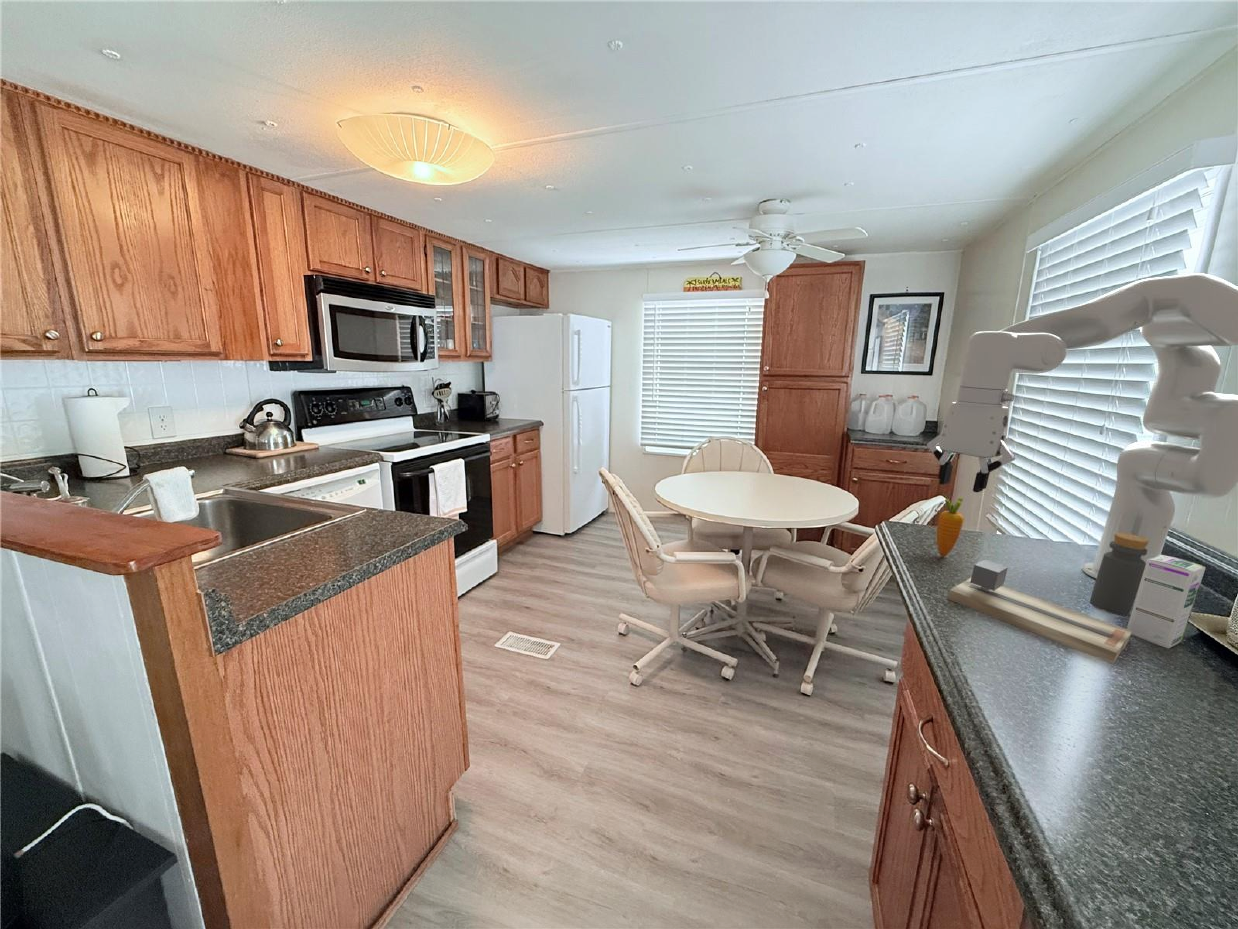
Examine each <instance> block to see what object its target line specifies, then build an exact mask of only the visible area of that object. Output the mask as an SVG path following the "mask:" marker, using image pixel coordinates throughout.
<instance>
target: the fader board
mask: <svg viewBox="0 0 1238 929" xmlns="http://www.w3.org/2000/svg"><path fill="white" fill-rule="evenodd" d="M970 581H971V577H970V578H968V579H966V580H965V581H963V582H961V583H959V584H957V585H955V586H954V587H952V588H950V589H949V591H948V596H947V599H948V600H949V601H952V602H954V603H957V604H960V605H962V606H965V607H967V608H970V609H972V610H975V611H977V612H980V613H982V614H985V615H988V616H991V617H993V618H996V619H998V620H1000V621H1003V622H1005V623H1008V624H1011V625H1014V626H1016V627H1019V628H1021V629H1024V630H1026V631H1029V632H1031V633H1033V634H1036V635H1039V636H1042V637H1044V638H1046V639H1048V640H1052V641H1054V642H1056V643H1059V644H1062V645H1064V646H1066V647H1069V648H1072V649H1074V650H1077V651H1079V652H1082V653H1084V654H1087V655H1089V656H1092V657H1094V658H1097V657H1098V659H1099V658H1100V660H1102V661H1105V662H1107V663H1110V664H1112V665H1113V664H1114V663H1116V662H1115V661H1116V660H1117V659H1118V658H1119V656H1120V655H1121V653H1122V652H1123V650H1124V649H1125V648H1126V646H1127V645H1128V643H1129V642H1130V640H1131V637H1132V631H1131V630H1128V629H1127V628H1125V627H1122V626H1119V625H1116V624H1114V623H1111V622H1109V621H1108V622H1107V621H1104V620H1101V619H1098V618H1097V617H1092V616H1090V615H1087V614H1084V613H1081V612H1080V611H1075V610H1072V609H1070V608H1067V607H1064V606H1061V605H1059V604H1055V603H1053V602H1050V601H1046V600H1045V599H1041V598H1038V597H1035V596H1032V595H1029V594H1027V593H1023V592H1021V591H1018V590H1016V589H1012V588H1009V587H1006V586H1004V585H1002V586H1001V587H999V588H998V589H996V590H995V591H993V590H989V591H986V590H983V589H981V586H979V585H976V584H973V583H971V582H970Z"/></svg>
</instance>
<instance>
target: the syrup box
mask: <svg viewBox="0 0 1238 929" xmlns="http://www.w3.org/2000/svg"><path fill="white" fill-rule="evenodd" d="M1205 570H1206V566H1204V565H1203V564H1198V563H1196V562H1194V561H1193V562H1192V561H1189V560H1188V559H1187V560H1186V559H1182V558H1179V557H1175V556H1169V555H1165V554H1161V555H1159V556H1157V557H1153V558H1151V559H1148V560H1147V562H1146V566H1145V569H1144V572H1143V576H1142V579H1141V582H1140V585H1139V589H1138V591H1137V594H1136V597H1135V600H1134V603H1133V606H1132V609H1131V612H1130V614H1129V619H1128V622H1127V626H1126V629H1128V630H1131V631H1132V634H1131V636H1135V637H1137V638H1139V639H1142V640H1144V641H1146V642H1148V643H1149V642H1150V643H1151V644H1153V645H1154V644H1155V645H1157V646H1159V647H1163V648H1166V649H1171V648H1172V647H1174V646H1176V645H1178V644H1179V643H1181V642H1183V639H1184V635H1185V632H1186V629H1187V627H1188V622H1189V620H1190V618H1191V614H1192V611H1193V608H1194V605H1195V601H1196V600H1197V595H1198V593H1199V590H1200V587H1201V583H1202V580H1203V577H1204V574H1205V572H1206V571H1205Z"/></svg>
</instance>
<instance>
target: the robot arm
mask: <svg viewBox="0 0 1238 929" xmlns="http://www.w3.org/2000/svg"><path fill="white" fill-rule="evenodd" d="M1137 329H1139V332H1140V334H1141V335H1142V338H1143V339H1144V340H1145V341H1146V342H1147V343H1148V344H1149V346H1150V347H1151V349H1152V350H1153V352H1154V354H1155V357H1156V359H1157V362H1158V365H1157V373H1156V377H1155V380H1154V383H1153V385H1152V389H1151V392H1150V395H1149V397H1148V401H1147V404H1146V406H1145V409H1144V412H1143V417H1142V425H1143V427H1144V429H1146V431H1148V432H1150V433H1153V434H1156V435H1161V436H1165V437H1172V438H1178V439H1184V440H1191V441H1198V442H1200V447H1195V446H1188V445H1184V444H1177V443H1170V442H1165V441H1157V440H1141V441H1137V442H1136V441H1135V442H1133V443H1131V444H1129V445H1127V446H1125V447H1124V448H1123V449H1122V450H1121V452H1120V454H1119V456H1118V459H1117V463H1116V486H1115V489H1114V494H1113V498H1112V502H1111V505H1110V508H1109V512H1108V515H1107V518H1106V522H1105V525H1104V528H1103V532H1102V534H1101V539H1100V541H1099V545H1098V548H1097V550H1096V555H1095V558H1094V562H1087V563H1084V564H1083V565H1082V571H1083V572H1084V573H1085V574H1086V575H1087V576H1090V577H1092V578H1094V579H1095V580H1096V578H1097V575H1098V572H1099V569H1100V565H1101V562H1102V559H1103V556H1104V554H1105V553H1107V552H1112V548H1110V546H1109V545H1110V542H1111V541H1114V534H1115V533H1126V534H1131V535H1136V536H1139V537H1142V538H1145V539H1147V540H1148V541H1149V543H1148V544H1147V546H1146V547H1145V549H1147V554H1146V555H1144V556H1141V559H1142V560H1143V561H1144V562H1145V563H1146V562H1147V560H1148V559H1151V558H1153V557H1157V556H1159V555H1162V552H1163V549H1164V546H1165V543H1166V540H1167V537H1168V533H1169V530H1170V528H1171V525H1172V522H1173V520H1174V517H1175V513H1176V512H1175V511H1176V509H1175V508H1176V507H1175V506H1176V504H1175V501H1174V499H1173V497H1172V494H1171V492H1173V493H1174V492H1175V493H1178V494H1183V495H1187V496H1191V497H1196V498H1201V499H1207V500H1209V499H1210V500H1211V499H1213V500H1214V499H1219V498H1223V497H1225V496H1226V495H1229V493H1230V492H1231V491H1233V490H1234V488H1235V487H1236V486H1237V484H1238V395H1236V394H1230V393H1229V394H1226V393H1218V392H1217V393H1215V392H1216V391H1215V390H1216V387H1217V383H1218V380H1219V378H1220V375H1221V369H1222V365H1221V361H1220V358H1219V356H1218V354H1217V353H1216V351H1215V350H1214V348H1213V347H1231V346H1232V347H1233V346H1234V347H1235V346H1238V286H1236V285H1234V284H1233V283H1231V282H1228V281H1227V280H1224V279H1223V278H1221V277H1217V276H1214V275H1211V274H1209V273H1208V274H1206V273H1189V274H1188V273H1187V274H1178V275H1170V276H1161V277H1160V276H1159V277H1151V278H1145V279H1140V280H1137V281H1134V282H1132V283H1129V284H1127V285H1124V286H1122V287H1120V288H1117V289H1115V290H1112V291H1110V292H1108V293H1106V294H1103V295H1101V296H1099V297H1097V298H1094V299H1092V300H1089V301H1087V302H1085V303H1082V304H1079V305H1076V306H1073V307H1068V308H1064V309H1062V310H1058V311H1054V312H1051V313H1048V314H1045V315H1044V314H1043V315H1039V316H1037V317H1033V318H1029V319H1027V320H1022V321H1021V322H1017V323H1015V324H1012V325H1010V326H1007V327H1005V328H1004V329H1001V330H999V331H994V330H992V331H985V330H984V331H978V332H975V333H973V334H972V335H971V336H970V338H969V340H968V343H967V349H966V354H965V359H964V363H963V368H962V372H961V377H960V382H959V387H958V390H957V397H956V401H952V402H951V404H950V406H949V409H948V410H947V413H946V416H945V418H944V422H943V425H942V428H941V432H940V434H938V435H937V436H935V437H934V438H933V439H932V440H930V441H929V442H927V443H926V447H927V448H928V449H929V450H930V451H931V452H932V453H933V455H934V457H935V458H936V459H937V461H938V464H939V465H940V467H939V472H938V476H937V477H938V478H937V479H938V480H939V482H938V483H939V484H938V485H941V486H943V485H946V484H950V481H951V475H952V472H953V469H954V468H953V467H954V466H953V463H952V461H953V459H954V457H955V456H956V454H958V455H963V456H970V457H976V458H978V461H979V462H978V463H979V467H980V469H979V471H978V472H976V474H975V477H974V478H975V479H974V484H973V488H972V491H973V493H980V492H983V490H985V489H987V485H988V481H989V477H990V474H991V473H992V472H993V471H996V470H997V469H999V468H1002V467H1003V466H1005V465H1007V464H1010V463H1012V462H1014V461H1015V460H1016V458H1015V456H1014V454H1013V452H1012V451H1011V450H1010V448H1009V447H1008V446H1007V444H1006V442H1007V437H1008V436H1007V434H1008V428H1009V407H1007V406H1004V405H1005V404H1006V403H1009V402H1013V403H1014V401H1015V398H1016V397H1015V396H1016V395H1015V394H1012V393H1009V390H1008V386H1009V383H1010V377H1011V374H1012V373H1017V374H1029V375H1031V374H1034V375H1035V374H1037V375H1038V374H1044V373H1049V372H1050V371H1053V370H1056V368H1058V367H1059V366H1060V365H1062V363H1063V362H1064V361H1065V359H1066V357H1067V353H1068V350H1079V349H1083V348H1089V347H1095V346H1099V345H1103V344H1105V343H1108V342H1110V341H1112V340H1114V339H1117V338H1119V337H1121V336H1123V335H1126V334H1128V333H1130V332H1132V331H1135V330H1137ZM1000 456H1001V458H999V459H997V460H996V461H995V460H994V461H993V458H994V457H995V458H996V457H1000ZM1138 589H1139V588H1138Z"/></svg>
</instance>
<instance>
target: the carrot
mask: <svg viewBox="0 0 1238 929" xmlns="http://www.w3.org/2000/svg"><path fill="white" fill-rule="evenodd" d="M963 500H964V499H963V498H962V497H959V498H958V499H957V502H956V503H955V504H953V503H952V504H951V501H950V499H948V498H946V499H944V502H945V503H946V506H947V508H948V510H944V511H942V512H941V513H940V514H939V516H938V522H937V527H936V528H937V529H936V545H937V550H938V552H939V554H940V556H941V558H945V557H947V556H948V554H950V553H951V551H952V550H953V549H954V547H955V545H956V543H957V541H958V540H959V537H960V536H961V531H962V529H963V524H964V520H965V519H964V518H965V517H964V516H963V515H962V514H961V513H959V512H958V510H959V509H960V507H961V505H962V503H963Z"/></svg>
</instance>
